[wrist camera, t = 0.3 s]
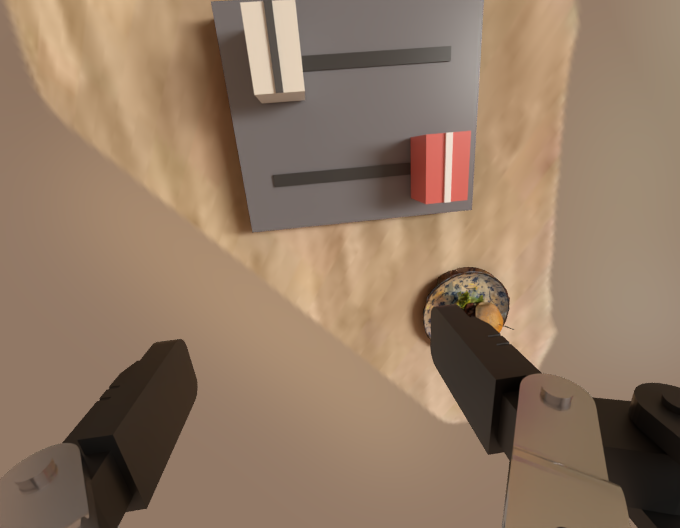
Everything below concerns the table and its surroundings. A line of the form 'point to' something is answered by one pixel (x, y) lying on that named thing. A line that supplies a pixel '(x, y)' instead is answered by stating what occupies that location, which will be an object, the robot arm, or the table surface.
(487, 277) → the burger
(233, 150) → the table surface
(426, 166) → the block
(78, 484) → the robot arm
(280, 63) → the block
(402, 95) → the console
